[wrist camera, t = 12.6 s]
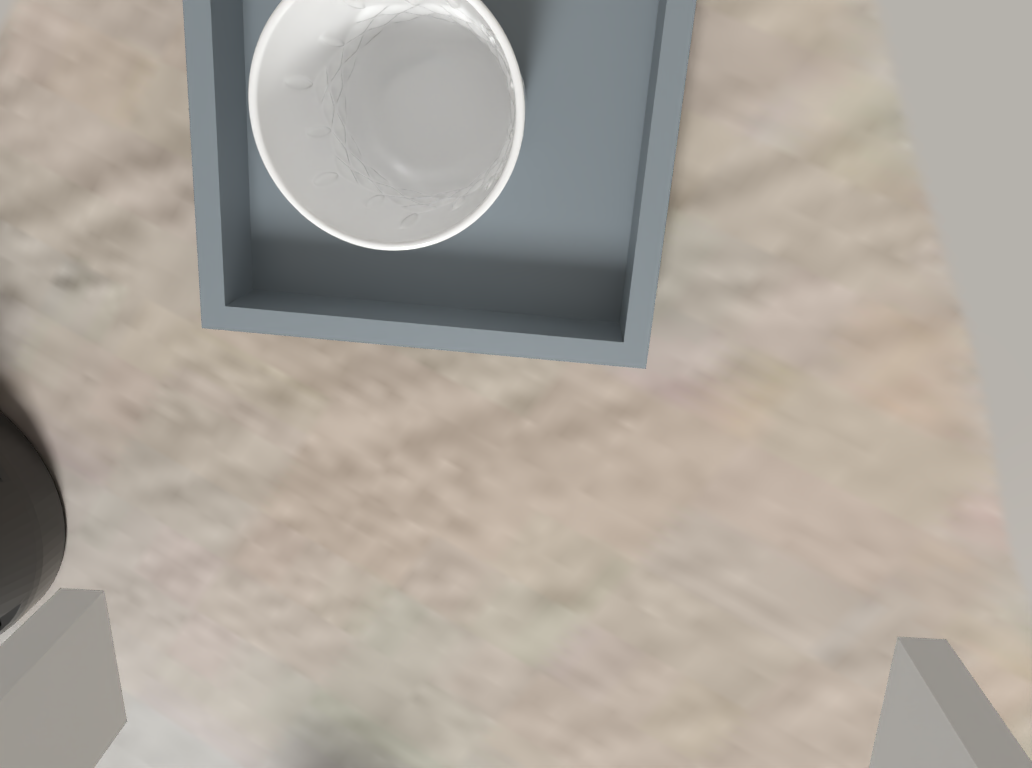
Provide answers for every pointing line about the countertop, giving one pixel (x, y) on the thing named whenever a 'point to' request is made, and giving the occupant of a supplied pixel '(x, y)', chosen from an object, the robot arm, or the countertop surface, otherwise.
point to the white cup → (387, 115)
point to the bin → (492, 237)
